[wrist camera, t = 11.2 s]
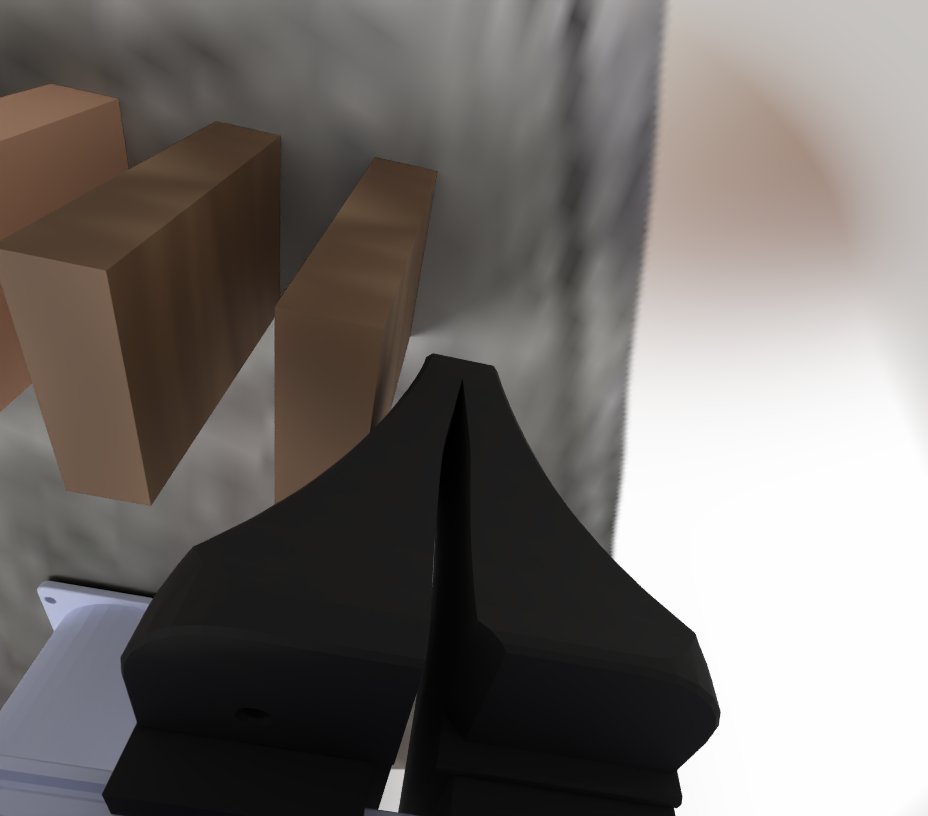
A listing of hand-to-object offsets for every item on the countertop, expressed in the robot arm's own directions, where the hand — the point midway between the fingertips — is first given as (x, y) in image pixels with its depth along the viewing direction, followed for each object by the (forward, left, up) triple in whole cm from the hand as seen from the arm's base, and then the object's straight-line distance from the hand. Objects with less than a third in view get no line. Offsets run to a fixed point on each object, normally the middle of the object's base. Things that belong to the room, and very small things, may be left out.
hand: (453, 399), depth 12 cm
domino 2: (0, +6, -6) cm, 9 cm away
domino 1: (0, +2, -6) cm, 6 cm away
